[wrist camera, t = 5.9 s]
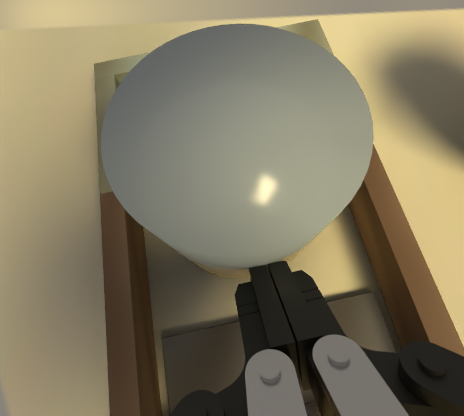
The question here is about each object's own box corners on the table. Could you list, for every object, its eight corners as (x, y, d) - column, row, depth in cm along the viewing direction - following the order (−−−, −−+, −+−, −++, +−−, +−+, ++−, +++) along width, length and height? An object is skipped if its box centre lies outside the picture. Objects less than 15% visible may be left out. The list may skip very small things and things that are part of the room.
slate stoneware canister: (279, 118, 18) (300, -3, 11) (344, 243, 15) (431, 191, 8) (148, 163, 17) (80, 66, 10) (189, 303, 14) (134, 304, 7)
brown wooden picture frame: (309, 53, 20) (317, 19, 17) (463, 434, 12) (516, 466, 10) (112, 92, 19) (94, 64, 17) (142, 509, 12) (116, 562, 9)
